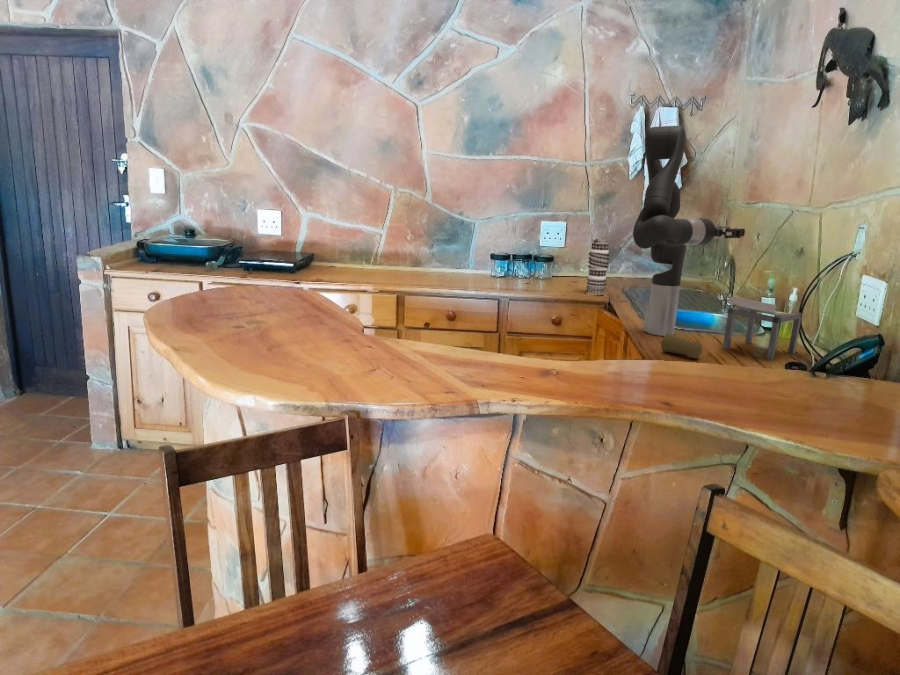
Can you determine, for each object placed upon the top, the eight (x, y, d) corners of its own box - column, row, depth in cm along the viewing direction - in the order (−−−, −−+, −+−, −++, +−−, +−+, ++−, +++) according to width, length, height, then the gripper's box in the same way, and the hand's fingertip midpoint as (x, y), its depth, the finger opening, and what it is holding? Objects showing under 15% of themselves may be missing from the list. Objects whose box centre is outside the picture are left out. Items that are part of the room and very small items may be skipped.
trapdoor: (727, 306, 200) (730, 296, 199) (754, 310, 211) (757, 301, 211) (766, 314, 191) (768, 303, 190) (792, 317, 202) (794, 307, 202)
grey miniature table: (722, 348, 207) (728, 308, 204) (747, 342, 217) (753, 304, 213) (771, 360, 195) (778, 318, 192) (795, 353, 205) (802, 313, 202)
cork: (662, 335, 197) (694, 345, 189) (673, 330, 200) (706, 340, 192) (660, 353, 199) (692, 364, 191) (672, 348, 203) (704, 358, 194)
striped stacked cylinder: (584, 295, 292) (589, 239, 286) (586, 292, 300) (591, 237, 294) (604, 297, 289) (610, 240, 283) (606, 293, 298) (611, 239, 292)
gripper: (716, 220, 176) (754, 220, 184) (675, 216, 188) (712, 216, 196) (712, 247, 178) (750, 246, 186) (672, 242, 190) (709, 241, 198)
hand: (730, 231), depth 191 cm, fingers open, 8 cm apart
